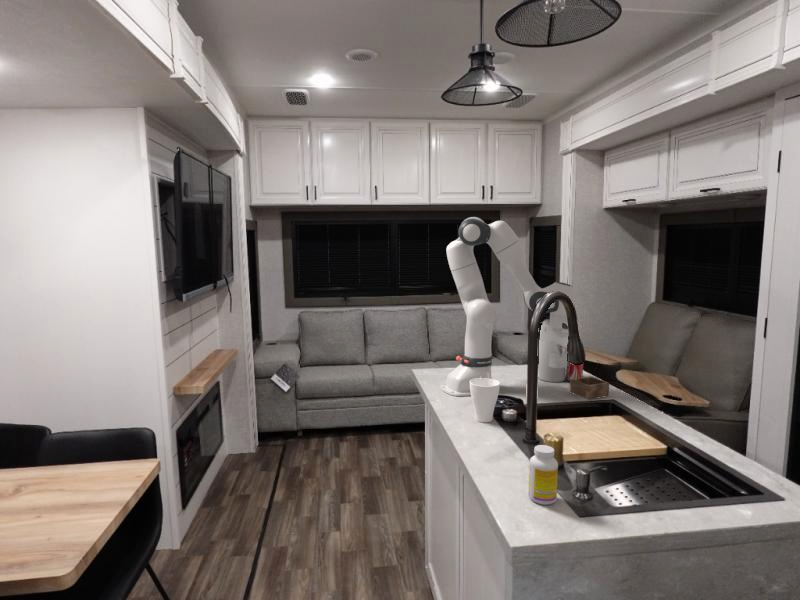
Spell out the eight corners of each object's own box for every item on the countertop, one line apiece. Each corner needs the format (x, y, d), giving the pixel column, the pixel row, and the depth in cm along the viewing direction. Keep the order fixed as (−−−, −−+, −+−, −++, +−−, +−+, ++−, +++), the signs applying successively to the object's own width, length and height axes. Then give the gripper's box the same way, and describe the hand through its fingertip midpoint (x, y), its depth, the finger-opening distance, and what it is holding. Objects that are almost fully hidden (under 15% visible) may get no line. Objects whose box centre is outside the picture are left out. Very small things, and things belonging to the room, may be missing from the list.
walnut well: (588, 399, 198) (588, 386, 198) (569, 392, 207) (570, 379, 207) (608, 396, 203) (609, 382, 202) (589, 389, 212) (590, 376, 211)
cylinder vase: (550, 373, 236) (552, 321, 232) (571, 380, 225) (574, 325, 222) (530, 377, 229) (532, 323, 226) (551, 384, 219) (554, 327, 215)
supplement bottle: (562, 503, 120) (564, 452, 119) (537, 507, 119) (540, 456, 117) (546, 490, 127) (548, 441, 125) (523, 493, 125) (525, 444, 123)
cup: (473, 412, 183) (474, 376, 181) (502, 417, 178) (503, 380, 176) (464, 421, 173) (465, 384, 172) (494, 427, 169) (495, 388, 167)
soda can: (580, 378, 228) (581, 350, 227) (584, 382, 221) (585, 354, 219) (564, 377, 229) (565, 349, 227) (567, 382, 222) (569, 353, 220)
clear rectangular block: (555, 368, 202) (557, 344, 200) (548, 366, 205) (550, 342, 204) (566, 367, 204) (568, 343, 203) (560, 365, 208) (561, 341, 206)
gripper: (537, 318, 210) (535, 350, 212) (573, 327, 192) (570, 362, 194) (549, 317, 213) (547, 349, 215) (585, 326, 194) (582, 361, 196)
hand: (558, 355), depth 204 cm, fingers closed on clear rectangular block, 4 cm apart
